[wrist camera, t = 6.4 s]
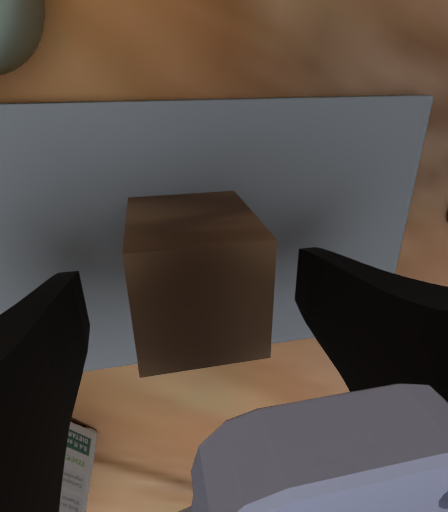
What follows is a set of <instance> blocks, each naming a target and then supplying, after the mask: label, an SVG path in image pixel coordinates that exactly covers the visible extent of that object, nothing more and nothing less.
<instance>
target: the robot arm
mask: <svg viewBox="0 0 448 512" xmlns="http://www.w3.org/2000/svg"><path fill="white" fill-rule="evenodd" d="M295 302H296V304H297V306H298V308H299V311H300V313H301V315H302V317H303V319H304V321H305V323H306V324H307V326H308V327H309V329H310V330H311V332H312V333H313V335H314V336H315V338H316V339H317V341H318V342H319V344H320V345H321V347H322V348H323V350H324V351H325V353H326V354H327V355H328V357H329V358H330V360H331V361H332V363H333V364H334V366H335V367H336V369H337V370H338V372H339V373H340V375H341V376H342V378H343V380H344V381H345V383H346V385H347V387H348V389H349V391H350V392H348V393H342V394H337V395H331V396H325V397H320V398H314V399H309V400H303V401H298V402H292V403H286V404H281V405H275V406H270V407H264V408H258V409H255V410H253V411H250V412H247V413H245V414H242V415H239V416H237V417H234V418H231V419H229V420H226V421H225V422H224V423H223V424H222V425H221V426H220V427H219V428H218V429H216V430H215V431H214V432H213V433H212V434H211V435H210V436H209V437H208V438H207V439H206V440H204V441H203V442H202V443H201V444H200V445H199V447H198V451H197V454H196V457H195V460H194V463H193V467H192V470H191V475H192V487H193V500H192V506H190V507H188V508H186V509H183V510H181V511H179V512H448V287H445V286H440V285H436V284H431V283H427V282H423V281H419V280H415V279H411V278H407V277H403V276H400V275H397V274H394V273H390V272H387V271H384V270H381V269H378V268H375V267H372V266H370V265H367V264H364V263H361V262H359V261H356V260H353V259H351V258H348V257H345V256H343V255H340V254H337V253H335V252H332V251H329V250H326V249H322V248H318V247H311V248H301V249H299V253H298V265H297V277H296V288H295ZM89 333H90V322H89V317H88V313H87V308H86V303H85V298H84V293H83V289H82V284H81V279H80V274H79V271H70V272H60V273H57V274H55V275H53V276H52V277H50V278H49V279H48V280H46V281H45V282H44V283H42V284H41V285H40V286H39V287H37V288H36V289H35V290H33V291H32V292H31V293H29V294H28V295H27V296H25V297H24V298H23V299H22V300H20V301H19V302H18V303H16V304H15V305H13V306H12V307H10V308H9V309H8V310H6V311H5V312H3V313H2V314H0V512H59V506H60V497H61V488H62V480H63V471H64V463H65V455H66V448H67V440H68V433H69V427H70V422H71V417H72V413H73V409H74V405H75V401H76V397H77V393H78V389H79V385H80V381H81V377H82V373H83V369H84V365H85V361H86V357H87V353H88V344H89Z"/></svg>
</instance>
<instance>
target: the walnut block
mask: <svg viewBox="0 0 448 512" xmlns="http://www.w3.org/2000/svg"><path fill="white" fill-rule="evenodd" d="M276 254H277V239H276V238H275V237H274V235H273V234H272V233H271V232H270V231H269V230H268V229H267V227H266V226H265V225H264V224H263V223H262V222H261V221H260V220H259V218H258V217H257V216H256V215H255V214H254V213H253V212H252V210H251V209H250V208H249V207H248V206H247V205H246V204H245V202H244V201H243V200H242V199H241V198H240V197H239V196H238V195H237V193H236V192H235V191H221V192H206V193H190V194H175V195H159V196H144V197H129V198H128V203H127V212H126V222H125V231H124V241H123V250H122V257H123V264H124V271H125V278H126V285H127V292H128V299H129V306H130V313H131V320H132V327H133V334H134V341H135V348H136V355H137V361H138V368H139V375H140V378H141V377H147V376H154V375H160V374H167V373H173V372H180V371H186V370H193V369H199V368H206V367H212V366H219V365H225V364H232V363H238V362H245V361H251V360H258V359H264V358H270V355H271V338H272V321H273V304H274V287H275V271H276Z"/></svg>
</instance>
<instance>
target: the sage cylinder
mask: <svg viewBox="0 0 448 512" xmlns="http://www.w3.org/2000/svg"><path fill="white" fill-rule="evenodd" d="M44 19H45V11H44V0H0V75H2V74H6V73H8V72H11V71H13V70H15V69H17V68H18V67H20V66H21V65H22V64H24V63H25V62H26V61H27V60H28V59H29V58H30V57H31V56H32V54H33V53H34V51H35V50H36V48H37V46H38V44H39V42H40V39H41V36H42V32H43V28H44Z"/></svg>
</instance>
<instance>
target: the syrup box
mask: <svg viewBox="0 0 448 512" xmlns="http://www.w3.org/2000/svg"><path fill="white" fill-rule="evenodd" d="M96 440H97V434H96V431H95V430H93V429H91V428H88V427H86V428H84V427H82V426H80V425H77V424H74V423H73V422H70V427H69V433H68V440H67V448H66V455H65V463H64V471H63V480H62V488H61V497H60V506H59V512H86V507H87V500H88V492H89V485H90V479H91V473H92V468H93V461H94V455H95V448H96Z"/></svg>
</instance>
